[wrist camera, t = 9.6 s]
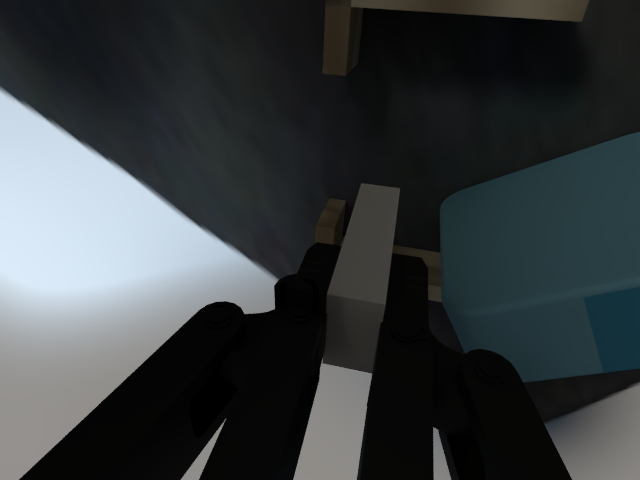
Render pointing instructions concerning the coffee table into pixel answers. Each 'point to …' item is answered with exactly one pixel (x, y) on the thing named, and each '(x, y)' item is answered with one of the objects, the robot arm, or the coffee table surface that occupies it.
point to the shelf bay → (343, 55)
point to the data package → (549, 263)
